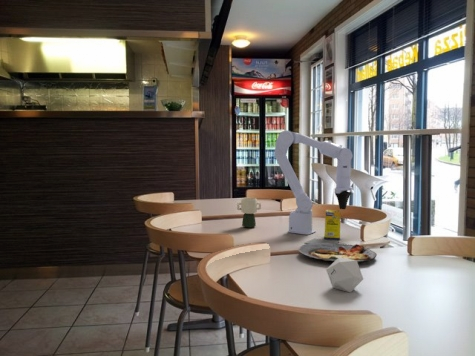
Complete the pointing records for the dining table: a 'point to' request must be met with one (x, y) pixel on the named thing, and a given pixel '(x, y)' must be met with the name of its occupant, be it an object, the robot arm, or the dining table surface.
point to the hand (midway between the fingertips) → (342, 208)
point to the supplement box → (332, 224)
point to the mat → (320, 241)
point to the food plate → (337, 252)
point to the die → (344, 274)
